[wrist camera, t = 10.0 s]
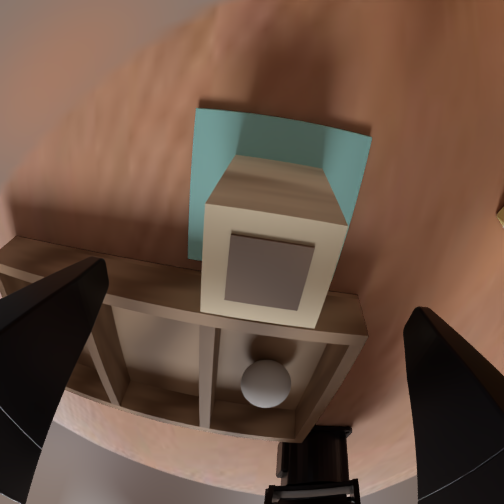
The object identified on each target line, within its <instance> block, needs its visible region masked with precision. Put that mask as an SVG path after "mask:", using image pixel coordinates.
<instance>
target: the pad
mask: <svg viewBox="0 0 504 504" xmlns="http://www.w3.org/2000/svg"><path fill="white" fill-rule="evenodd" d="M371 141H372V137H370V136H367V135H363V134H359V133H355V132H351V131H346V130H342V129H338V128H333V127H329V126H324V125H319V124H314V123H309V122H304V121H299V120H293V119H287V118H281V117H275V116H268V115H261V114H254V113H246V112H238V111H229V110H219V109H207V108H196V115H195V126H194V138H193V152H192V166H191V183H190V203H189V229H188V259H193V260H199V261H202V251H203V231H204V214H205V203H206V201H207V200H208V198H209V196H210V195H211V193H212V191H213V190H214V188H215V186H216V185H217V183H218V182H219V180H220V178H221V177H222V175H223V174H224V172H225V170H226V169H227V167H228V166H229V164H230V163H231V161H232V159H233V158H234V156H235V155H242V156H249V157H256V158H263V159H270V160H276V161H282V162H288V163H294V164H300V165H306V166H311V167H316V168H322V169H323V171H324V173H325V175H326V177H327V179H328V182H329V184H330V186H331V188H332V190H333V192H334V195H335V197H336V199H337V201H338V204H339V206H340V208H341V210H342V213H343V215H344V217H345V220H346V222H347V224H348V228H349V225H350V221H351V218H352V214H353V211H354V207H355V204H356V200H357V197H358V193H359V189H360V185H361V182H362V178H363V174H364V170H365V166H366V162H367V158H368V154H369V150H370V145H371ZM347 231H348V229H347ZM346 235H347V233H346ZM345 238H346V236H345ZM344 241H345V239H344ZM343 245H344V243H343ZM342 248H343V246H342ZM341 251H342V249H341ZM340 254H341V252H340ZM339 257H340V255H339ZM338 260H339V259H338ZM337 263H338V262H337ZM336 266H337V265H336ZM335 270H336V268H335ZM334 273H335V271H334ZM333 276H334V274H333ZM332 279H333V277H332ZM331 281H332V280H331Z"/></svg>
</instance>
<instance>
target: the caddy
mask: <svg viewBox="0 0 504 504" xmlns="http://www.w3.org/2000/svg"><path fill="white" fill-rule="evenodd" d="M90 256H96V257H101V258H103V259H104V260H105V262H106V267H107V273H108V278H109V288H108V291H107V293H106V296H105V298H104V301H103V303H102V306H101V308H100V311H99V313H98V316H97V319H96V321H95V324H94V326H93V329H92V331H91V334H90V336H89V338H88V340H87V342H86V344H85V346H84V348H83V350H82V352H81V354H80V357H79V359H78V361H77V363H76V365H75V367H74V370H73V372H72V374H71V376H70V379H69V381H68V383H67V386H66V388H65V390H67V391H69V392H72V393H74V394H77V395H79V396H82V397H84V398H87V399H90V400H92V401H95V402H98V403H101V404H103V405H106V406H109V407H112V408H115V409H118V410H121V411H125V412H128V413H131V414H134V415H138V416H141V417H145V418H148V419H152V420H156V421H160V422H164V423H168V424H172V425H176V426H181V427H185V428H190V429H194V430H199V431H205V432H210V433H216V434H222V435H228V436H234V437H242V438H249V439H258V440H267V441H278V442H291V443H302V442H303V440H304V439H305V438H306V436H307V435H308V433H309V432H310V431H311V429H312V428H313V426H314V425H315V424H316V422H317V421H318V419H319V418H320V416H321V415H322V413H323V412H324V410H325V409H326V407H327V406H328V404H329V403H330V401H331V400H332V398H333V396H334V395H335V393H336V392H337V390H338V388H339V387H340V385H341V384H342V382H343V380H344V379H345V377H346V375H347V374H348V372H349V370H350V369H351V367H352V365H353V364H354V362H355V360H356V358H357V357H358V355H359V353H360V351H361V349H362V348H363V346H364V344H365V342H366V340H367V338H368V337H369V335H368V331H367V328H366V324H365V320H364V316H363V313H362V309H361V305H360V302H359V298H358V295H354V294H346V293H339V292H332V291H328V292H327V295H326V298H325V301H324V304H323V306H322V309H321V312H320V315H319V318H318V320H317V323H316V326H315V329H314V328H306V327H298V326H290V325H282V324H275V323H268V322H261V321H254V320H248V319H241V318H235V317H229V316H223V315H217V314H211V313H205V312H200V308H201V275H202V271H196V270H190V269H184V268H178V267H173V266H167V265H161V264H156V263H150V262H145V261H139V260H134V259H129V258H123V257H118V256H113V255H107V254H102V253H97V252H92V251H87V250H82V249H77V248H72V247H67V246H62V245H57V244H52V243H47V242H43V241H38V240H33V239H29V238H24V237H19V236H15V237H14V238H13V239H12V240H11V241H9V242H8V243H7V244H6V245H5V246H4V247H2V248H1V249H0V293H1V295H2V297H3V298H4V297H5V296H7V295H9V294H11V293H13V292H15V291H17V290H19V289H21V288H23V287H25V286H28V285H30V284H32V283H34V282H36V281H38V280H40V279H42V278H44V277H46V276H48V275H50V274H53V273H55V272H57V271H59V270H61V269H63V268H66V267H68V266H70V265H72V264H74V263H77V262H79V261H81V260H83V259H85V258H88V257H90ZM260 360H273V361H276V362H278V363H280V364H281V365H283V366H284V367H285V368H286V370H287V371H288V373H289V375H290V378H291V389H290V392H289V394H288V396H287V398H286V399H285V400H284V401H283V402H282V403H280V404H279V405H277V406H274V407H270V408H261V407H257V406H255V405H253V404H251V403H250V402H249V401H248V400H247V399H246V398H245V397H244V395H243V393H242V390H241V378H242V375H243V373H244V371H245V370H246V369H247V368H248V367H249V366H250V365H251V364H253V363H254V362H257V361H260Z"/></svg>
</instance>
